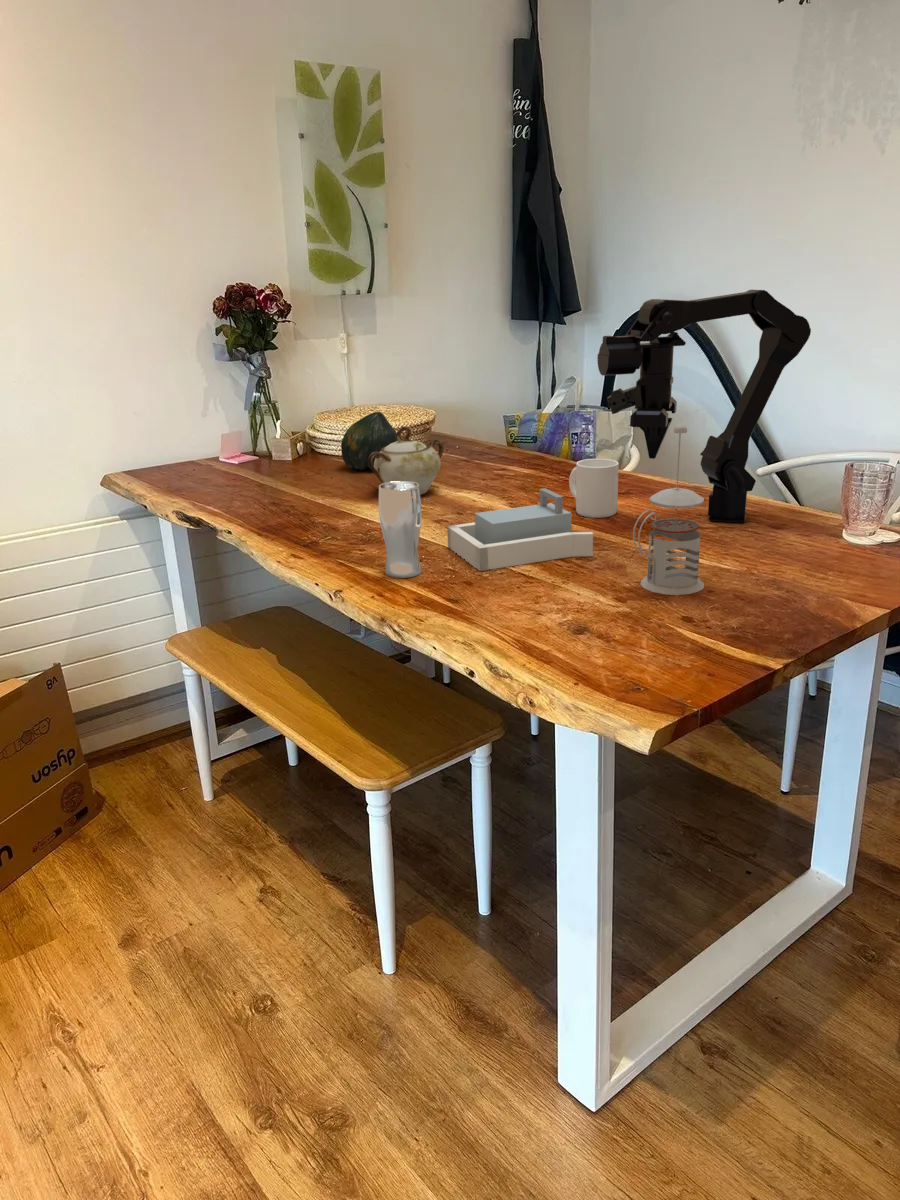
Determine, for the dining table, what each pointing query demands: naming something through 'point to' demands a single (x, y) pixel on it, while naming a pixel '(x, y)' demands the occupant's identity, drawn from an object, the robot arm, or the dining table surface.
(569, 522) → the box with loop handle
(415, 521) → the beer glass
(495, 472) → the dining table surface
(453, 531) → the bay
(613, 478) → the mug
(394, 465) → the sugar bowl
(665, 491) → the french press
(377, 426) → the squash
